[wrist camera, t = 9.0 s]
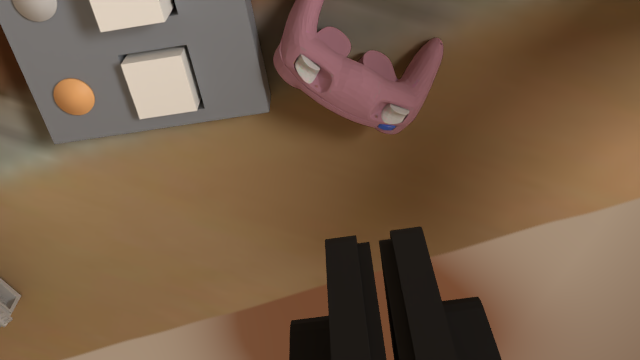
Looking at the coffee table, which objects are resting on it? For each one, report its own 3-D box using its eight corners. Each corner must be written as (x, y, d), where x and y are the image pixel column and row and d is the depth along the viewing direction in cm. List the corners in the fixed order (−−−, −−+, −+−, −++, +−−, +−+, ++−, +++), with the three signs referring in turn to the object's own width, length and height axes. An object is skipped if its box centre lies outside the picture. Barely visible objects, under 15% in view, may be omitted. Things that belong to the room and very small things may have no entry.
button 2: (188, 38, 38) (180, 55, 35) (203, 91, 40) (197, 110, 37) (131, 48, 38) (120, 64, 36) (148, 100, 40) (139, 119, 37)
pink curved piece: (282, 8, 39) (254, 89, 35) (314, -42, 35) (287, 42, 32) (411, 77, 42) (398, 159, 38) (452, 37, 38) (443, 123, 34)
